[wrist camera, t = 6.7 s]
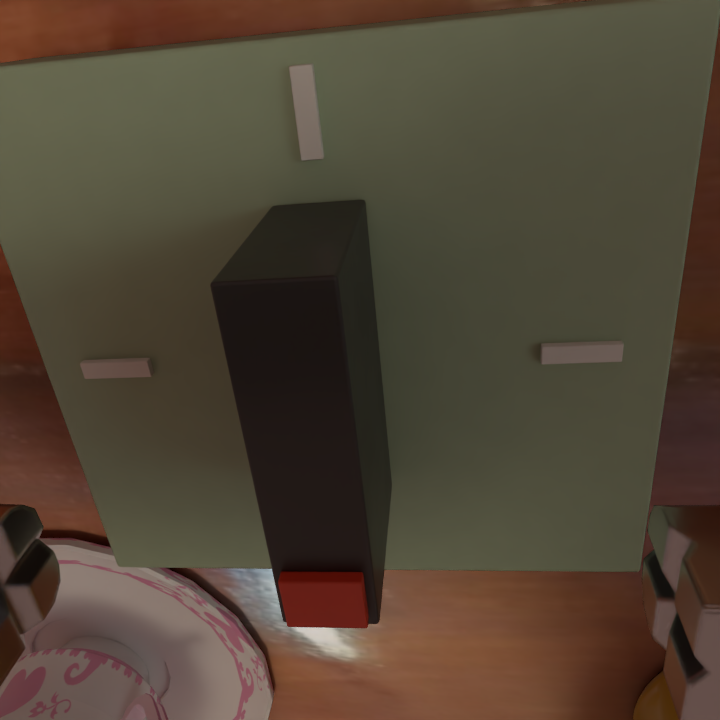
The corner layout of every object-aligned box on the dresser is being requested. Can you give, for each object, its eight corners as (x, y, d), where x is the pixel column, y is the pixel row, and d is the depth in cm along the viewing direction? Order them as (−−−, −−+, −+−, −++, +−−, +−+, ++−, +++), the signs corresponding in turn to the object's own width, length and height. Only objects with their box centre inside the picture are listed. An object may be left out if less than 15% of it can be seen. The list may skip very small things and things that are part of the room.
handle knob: (271, 205, 11) (201, 290, 8) (365, 198, 11) (334, 284, 8) (316, 486, 14) (279, 635, 11) (392, 485, 14) (378, 637, 10)
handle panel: (660, -8, 12) (730, -10, 9) (609, 484, 17) (643, 579, 14) (34, 58, 13) (-72, 73, 11) (162, 488, 18) (113, 573, 16)
